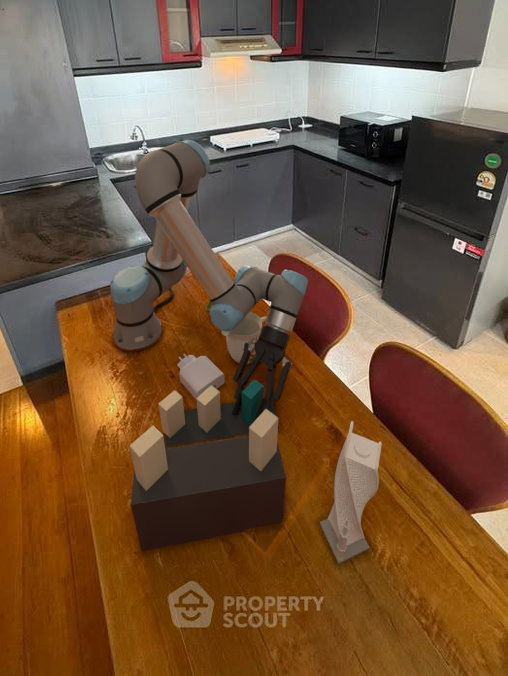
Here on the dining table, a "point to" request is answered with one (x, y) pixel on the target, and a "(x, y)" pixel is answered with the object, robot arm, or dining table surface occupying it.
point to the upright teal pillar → (251, 401)
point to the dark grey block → (200, 418)
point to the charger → (199, 374)
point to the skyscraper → (352, 495)
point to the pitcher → (244, 336)
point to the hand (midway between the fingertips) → (245, 420)
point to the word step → (207, 486)
